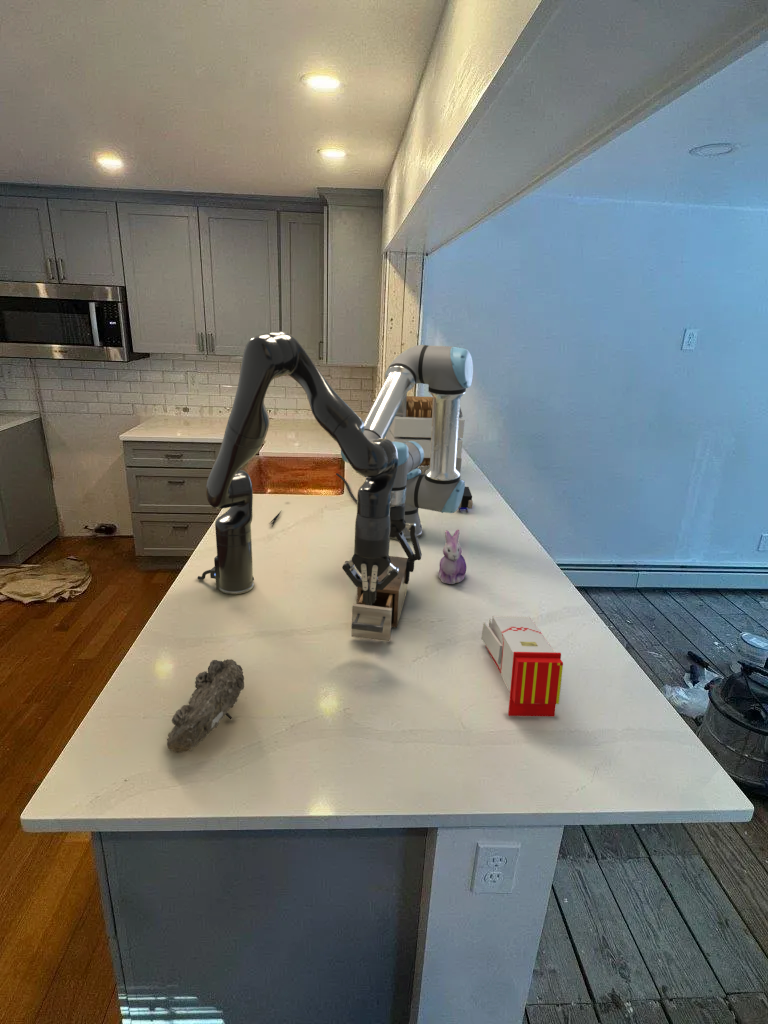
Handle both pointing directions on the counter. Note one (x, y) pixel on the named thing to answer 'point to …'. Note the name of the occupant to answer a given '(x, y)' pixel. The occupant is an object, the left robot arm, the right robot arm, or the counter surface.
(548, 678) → the toy
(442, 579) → the figurine
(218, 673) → the grey lumpy elongated piece
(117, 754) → the counter surface
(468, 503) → the figurine character
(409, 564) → the right robot arm
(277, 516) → the feather
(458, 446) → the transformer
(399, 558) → the cabinet
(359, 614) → the drawer
